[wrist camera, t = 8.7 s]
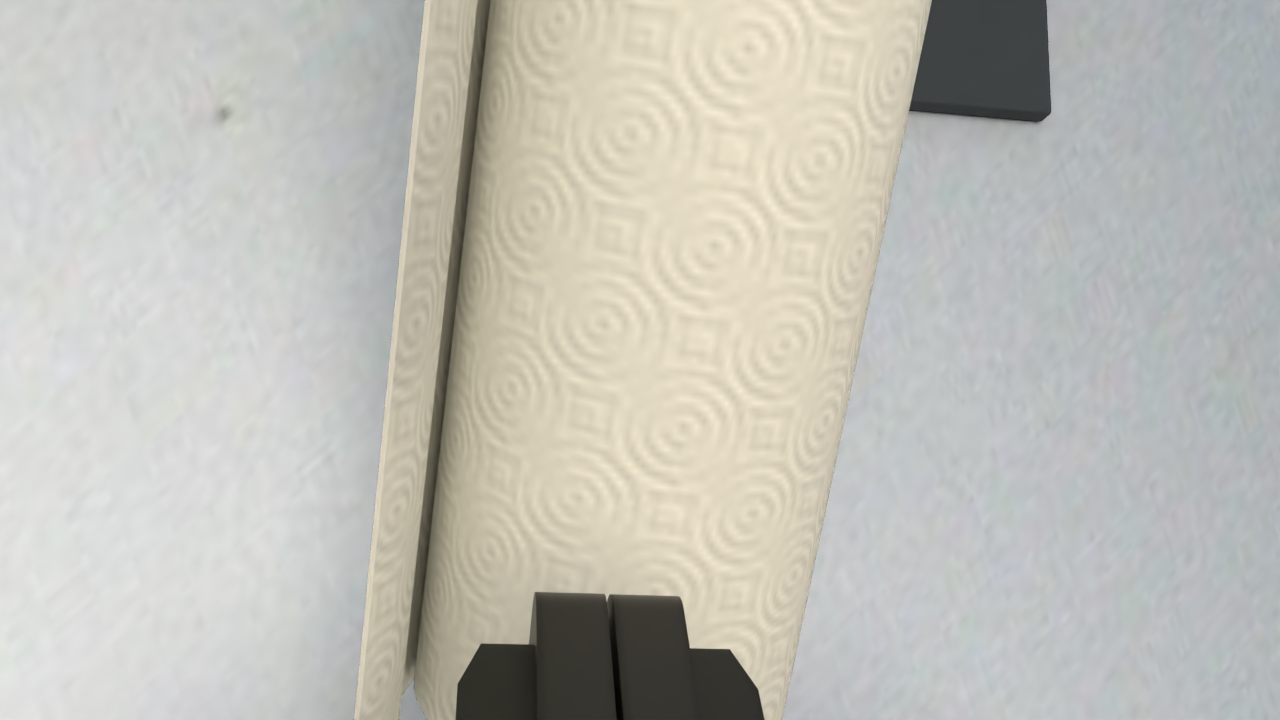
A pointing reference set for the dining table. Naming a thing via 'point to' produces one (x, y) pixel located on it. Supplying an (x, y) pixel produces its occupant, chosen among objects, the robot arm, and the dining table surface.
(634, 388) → the paper towel roll
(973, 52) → the mat
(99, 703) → the dining table surface
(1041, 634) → the dining table surface
